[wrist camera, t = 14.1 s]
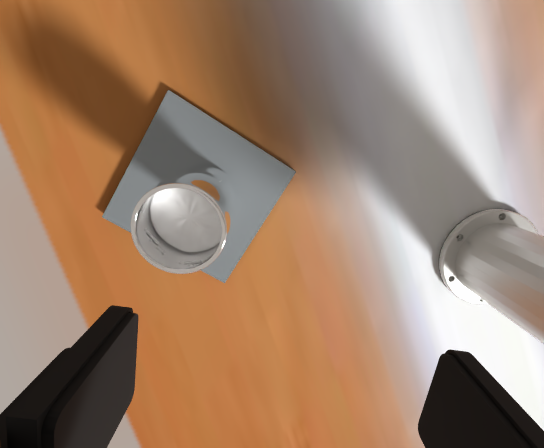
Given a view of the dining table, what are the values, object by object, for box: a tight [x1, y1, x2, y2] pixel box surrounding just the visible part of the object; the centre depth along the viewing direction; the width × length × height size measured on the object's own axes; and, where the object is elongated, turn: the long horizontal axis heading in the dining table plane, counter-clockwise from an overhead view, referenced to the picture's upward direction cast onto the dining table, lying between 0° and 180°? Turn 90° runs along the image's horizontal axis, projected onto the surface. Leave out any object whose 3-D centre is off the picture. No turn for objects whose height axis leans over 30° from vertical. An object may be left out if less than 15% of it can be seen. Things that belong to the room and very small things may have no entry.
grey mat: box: [102, 90, 296, 283], centre depth 37 cm, size 16×16×1 cm
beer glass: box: [131, 166, 235, 274], centre depth 30 cm, size 7×7×15 cm
